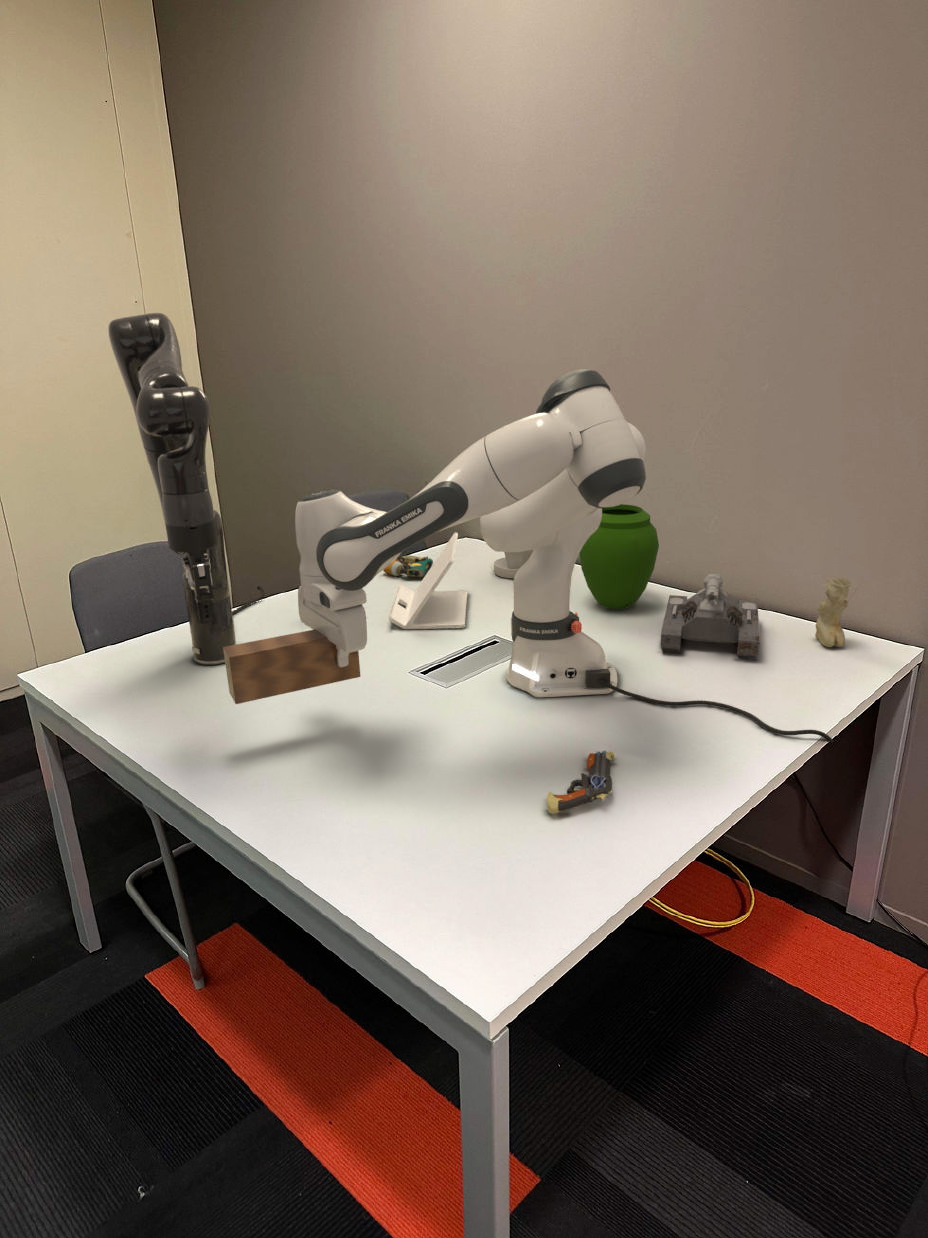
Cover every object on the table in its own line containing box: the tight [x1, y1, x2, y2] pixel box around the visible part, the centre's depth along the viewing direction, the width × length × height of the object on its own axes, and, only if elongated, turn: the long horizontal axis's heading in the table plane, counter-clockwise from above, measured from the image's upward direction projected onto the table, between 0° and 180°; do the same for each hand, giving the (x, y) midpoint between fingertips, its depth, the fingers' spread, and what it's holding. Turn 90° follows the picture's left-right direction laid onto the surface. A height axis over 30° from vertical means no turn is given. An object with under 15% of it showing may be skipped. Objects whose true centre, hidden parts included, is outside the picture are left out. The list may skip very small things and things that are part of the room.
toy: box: [660, 573, 760, 658], centre depth 190 cm, size 25×20×15 cm
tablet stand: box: [388, 531, 468, 630], centre depth 211 cm, size 18×25×17 cm
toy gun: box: [546, 750, 616, 814], centre depth 135 cm, size 3×19×10 cm
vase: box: [579, 503, 660, 610], centre depth 210 cm, size 20×20×24 cm
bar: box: [223, 629, 361, 705], centre depth 147 cm, size 22×5×9 cm, turn 116°
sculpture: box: [814, 576, 852, 648], centre depth 185 cm, size 6×7×15 cm
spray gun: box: [382, 554, 434, 578], centre depth 245 cm, size 4×17×15 cm
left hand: (203, 614), depth 140 cm, fingers open, 8 cm apart
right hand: (334, 659), depth 151 cm, fingers closed on bar, 5 cm apart
